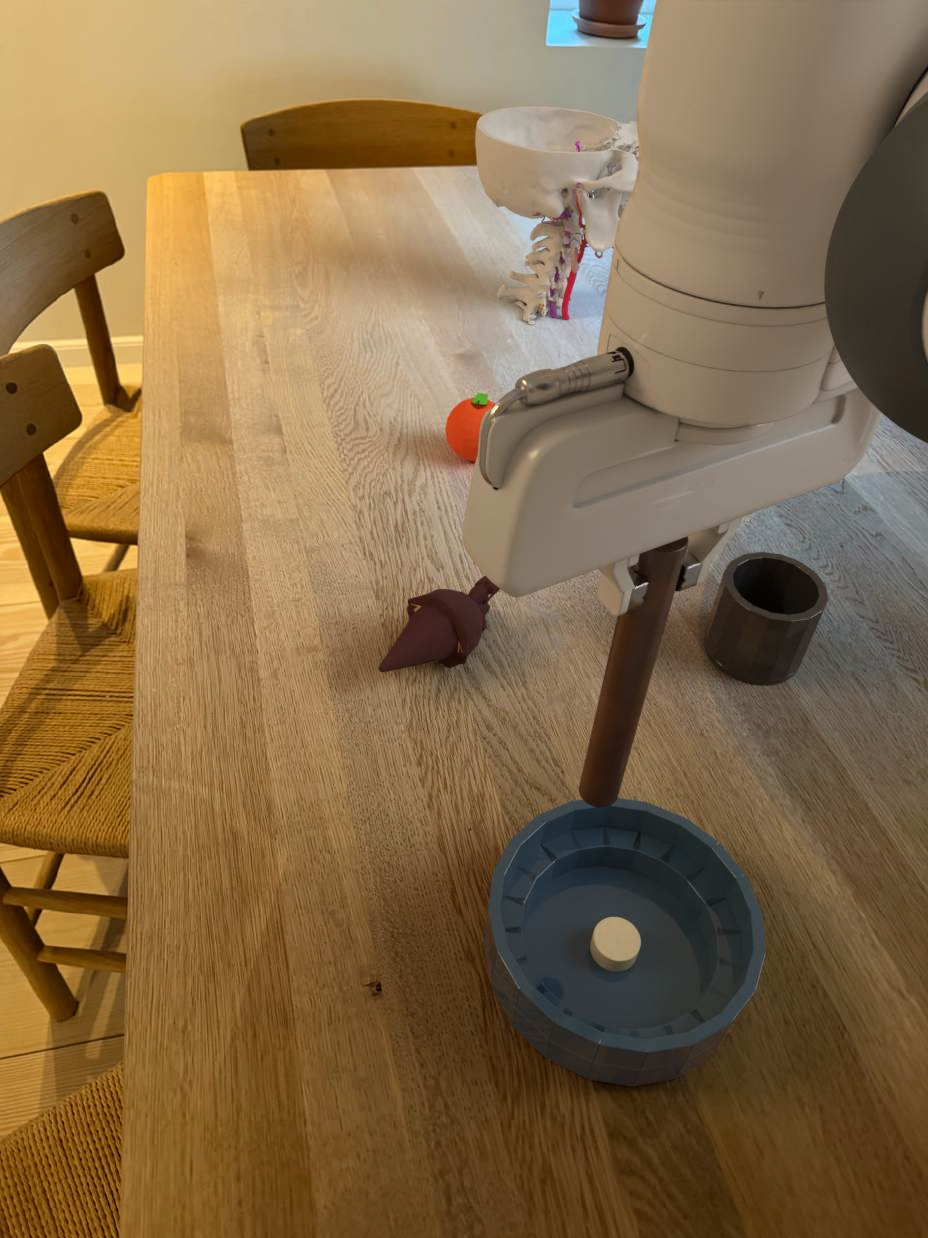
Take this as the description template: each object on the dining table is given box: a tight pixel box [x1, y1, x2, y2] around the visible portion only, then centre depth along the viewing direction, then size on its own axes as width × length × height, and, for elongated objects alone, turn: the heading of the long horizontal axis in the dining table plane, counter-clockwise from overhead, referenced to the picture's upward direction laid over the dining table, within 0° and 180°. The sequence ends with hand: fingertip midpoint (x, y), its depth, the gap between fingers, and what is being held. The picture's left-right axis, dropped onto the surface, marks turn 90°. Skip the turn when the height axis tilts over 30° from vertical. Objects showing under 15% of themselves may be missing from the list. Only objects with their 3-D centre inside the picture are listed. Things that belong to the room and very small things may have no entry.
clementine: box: [444, 392, 496, 462], centre depth 106 cm, size 8×7×7 cm
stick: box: [578, 536, 689, 808], centre depth 51 cm, size 2×2×20 cm
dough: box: [590, 917, 641, 972], centre depth 64 cm, size 3×3×2 cm
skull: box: [474, 105, 639, 325], centre depth 129 cm, size 25×19×23 cm
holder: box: [703, 551, 829, 686], centre depth 85 cm, size 9×9×8 cm
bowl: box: [482, 797, 767, 1087], centre depth 63 cm, size 18×18×6 cm
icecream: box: [377, 575, 501, 673], centre depth 83 cm, size 7×7×15 cm
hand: (650, 592), depth 46 cm, fingers closed on stick, 2 cm apart
